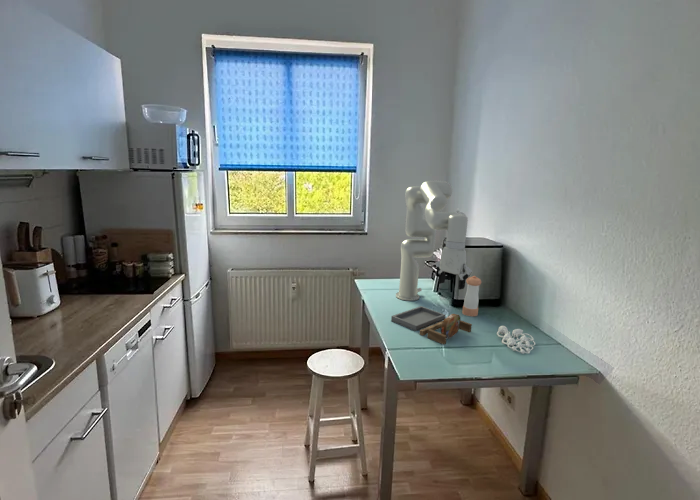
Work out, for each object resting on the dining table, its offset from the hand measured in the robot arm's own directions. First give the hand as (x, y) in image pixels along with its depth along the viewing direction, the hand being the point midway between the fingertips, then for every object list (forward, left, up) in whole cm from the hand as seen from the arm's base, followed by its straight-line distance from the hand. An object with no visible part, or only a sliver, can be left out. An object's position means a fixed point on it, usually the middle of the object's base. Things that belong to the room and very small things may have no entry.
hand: (451, 285), depth 168 cm
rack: (-1, -1, -22) cm, 22 cm away
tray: (-3, -17, -22) cm, 28 cm away
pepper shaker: (-31, -7, -22) cm, 39 cm away
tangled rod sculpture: (-17, +23, -22) cm, 36 cm away
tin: (-1, +1, -22) cm, 22 cm away
